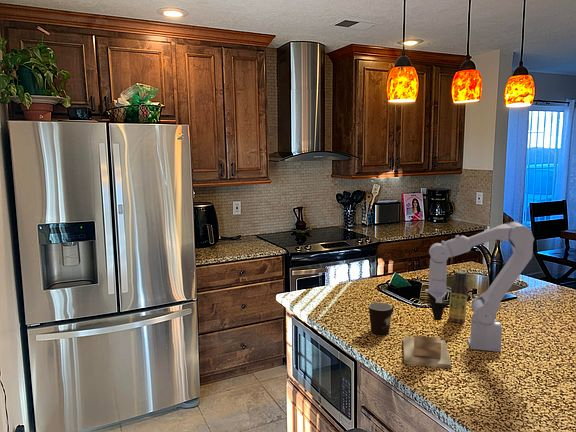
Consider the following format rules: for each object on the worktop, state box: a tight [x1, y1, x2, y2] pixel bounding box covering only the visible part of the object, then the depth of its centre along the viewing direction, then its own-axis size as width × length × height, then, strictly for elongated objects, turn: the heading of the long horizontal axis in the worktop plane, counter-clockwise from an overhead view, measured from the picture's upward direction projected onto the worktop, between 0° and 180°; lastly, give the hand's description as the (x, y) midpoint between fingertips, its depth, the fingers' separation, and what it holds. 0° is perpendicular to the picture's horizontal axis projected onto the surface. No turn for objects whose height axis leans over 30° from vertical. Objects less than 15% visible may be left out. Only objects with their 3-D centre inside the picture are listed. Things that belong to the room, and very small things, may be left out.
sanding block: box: [413, 335, 442, 359], centre depth 137 cm, size 8×4×6 cm, turn 76°
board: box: [402, 336, 452, 369], centre depth 142 cm, size 14×18×1 cm
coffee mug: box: [368, 301, 395, 337], centre depth 159 cm, size 12×9×10 cm
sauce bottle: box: [448, 270, 468, 324], centre depth 168 cm, size 6×6×20 cm
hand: (436, 316), depth 149 cm, fingers open, 7 cm apart
